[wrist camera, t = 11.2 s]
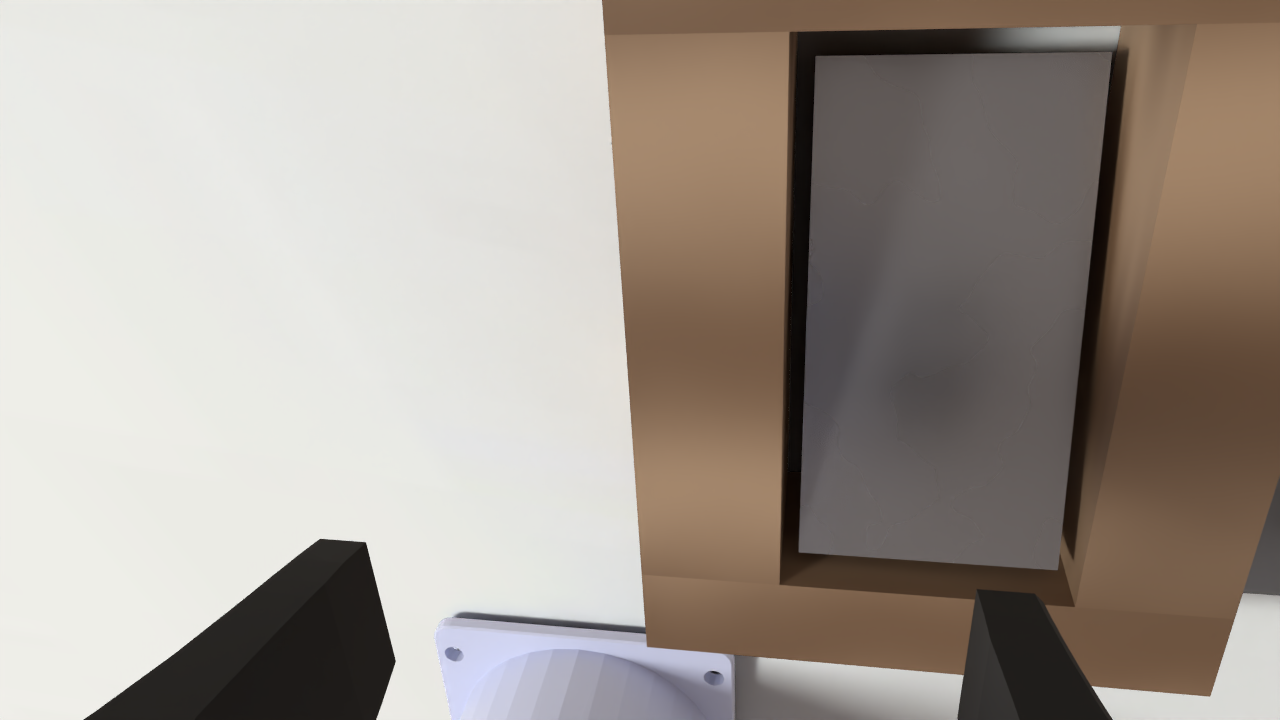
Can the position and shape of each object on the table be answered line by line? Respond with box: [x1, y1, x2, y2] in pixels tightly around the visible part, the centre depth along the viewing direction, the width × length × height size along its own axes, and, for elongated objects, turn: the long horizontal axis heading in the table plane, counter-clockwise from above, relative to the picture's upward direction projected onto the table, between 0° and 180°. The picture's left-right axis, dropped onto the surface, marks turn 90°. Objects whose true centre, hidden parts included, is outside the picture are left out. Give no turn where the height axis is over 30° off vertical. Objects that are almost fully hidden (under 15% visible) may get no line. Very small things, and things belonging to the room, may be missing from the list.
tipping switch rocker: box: [799, 52, 1112, 570], centre depth 18 cm, size 9×5×1 cm, turn 3°
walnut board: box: [602, 0, 1280, 696], centre depth 19 cm, size 15×11×4 cm
